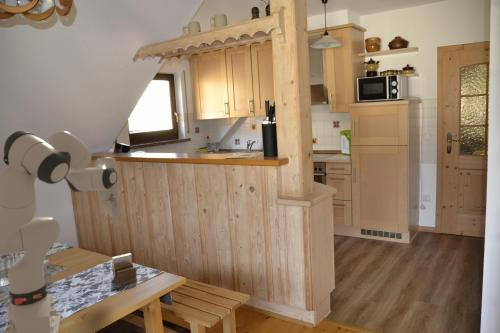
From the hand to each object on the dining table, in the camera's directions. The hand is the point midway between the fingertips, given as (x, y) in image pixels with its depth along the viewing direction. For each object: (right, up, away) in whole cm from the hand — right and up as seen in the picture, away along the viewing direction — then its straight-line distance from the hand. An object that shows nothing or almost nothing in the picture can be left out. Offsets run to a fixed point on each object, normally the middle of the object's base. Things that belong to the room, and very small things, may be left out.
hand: (112, 223), depth 183 cm
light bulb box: (-33, -28, -1) cm, 43 cm away
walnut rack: (+5, -26, +2) cm, 26 cm away
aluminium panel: (+4, -24, +4) cm, 24 cm away
